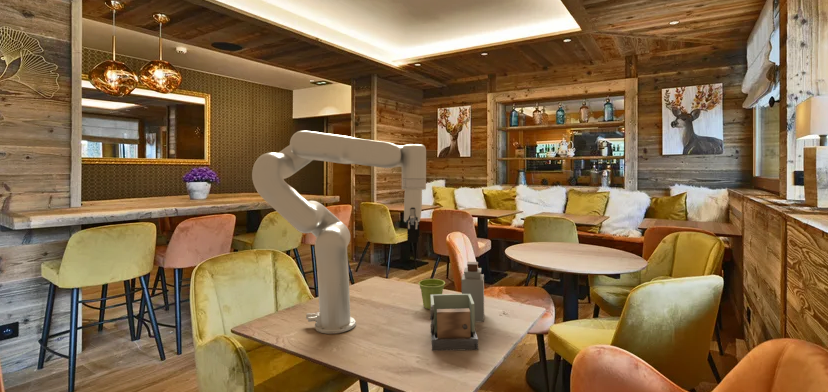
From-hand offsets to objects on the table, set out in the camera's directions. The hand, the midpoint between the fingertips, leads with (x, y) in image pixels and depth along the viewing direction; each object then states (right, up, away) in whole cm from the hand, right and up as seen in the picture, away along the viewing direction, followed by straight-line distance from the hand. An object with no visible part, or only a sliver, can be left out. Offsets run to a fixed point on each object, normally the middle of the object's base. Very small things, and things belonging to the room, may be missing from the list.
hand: (413, 239), depth 129 cm
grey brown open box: (+11, -28, -15) cm, 33 cm away
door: (+11, -28, -14) cm, 33 cm away
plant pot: (+7, -26, +17) cm, 31 cm away
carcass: (+11, -27, -8) cm, 31 cm away
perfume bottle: (+19, -26, +6) cm, 33 cm away
